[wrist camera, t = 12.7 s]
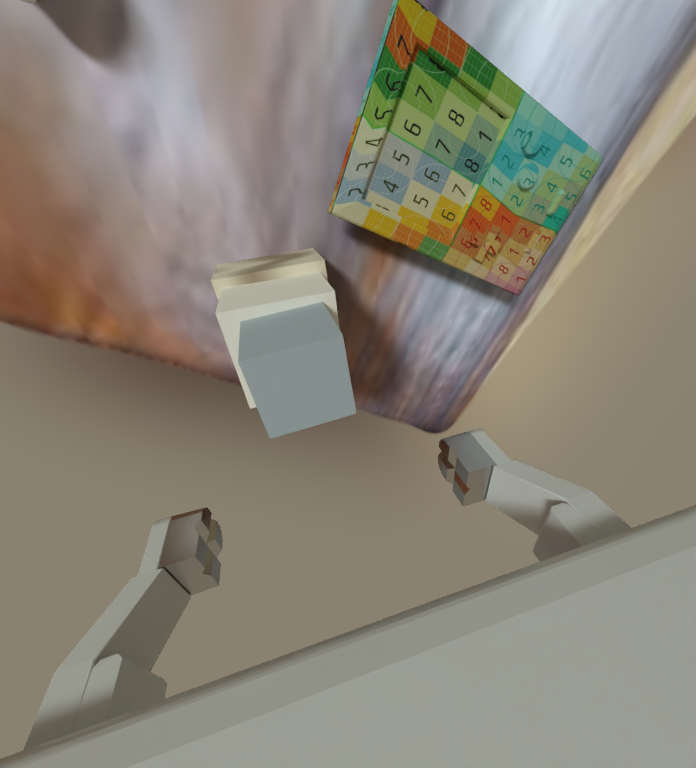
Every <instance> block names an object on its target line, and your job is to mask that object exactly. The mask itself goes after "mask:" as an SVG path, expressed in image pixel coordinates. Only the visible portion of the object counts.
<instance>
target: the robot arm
mask: <svg viewBox="0 0 696 768" xmlns="http://www.w3.org/2000/svg"><path fill="white" fill-rule="evenodd" d="M439 448H440V449H441V453H440V454H439V455H438V463H439V467H440V470H441V472H442V475H443V476H444V478H445V479H446V481H448V482H450V483H452V484H453V492H454V493H455V495H456V496H457V498H458V500H459V501H460V503H461V504H462V506H466V505H469V504H473V503H476V502H480V501H483V500H486V502H487V503H489V504H491V505H492V506H494V507H495V508H497V509H498V510H500V511H502V512H503V513H504V514H506V515H508V516H509V517H511V518H512V519H514V520H515V521H517V522H518V523H520V524H521V525H523V526H525V527H526V528H528V529H529V530H531V531H532V532H534V533H535V534H537V535H538V538H537V541H536V543H535V545H534V547H533V553H534V554H535V555H536V557H537V558H538V559H539V561H540V562H538V563H535V564H532V565H530V566H527V567H524V568H521V569H519V570H516V571H513V572H510V573H508V574H505V575H502V576H499V577H496V578H494V579H491V580H488V581H486V582H483V583H480V584H478V585H475V586H472V587H469V588H467V589H464V590H461V591H458V592H456V593H453V594H450V595H447V596H444V597H442V598H439V599H436V600H434V601H431V602H428V603H425V604H423V605H420V606H417V607H414V608H412V609H409V610H406V611H403V612H401V613H398V614H396V615H393V616H390V617H387V618H384V619H382V620H379V621H376V622H374V623H371V624H368V625H365V626H362V627H360V628H357V629H354V630H351V631H349V632H346V633H343V634H341V635H338V636H335V637H332V638H330V639H327V640H324V641H321V642H319V643H316V644H313V645H310V646H308V647H305V648H302V649H300V650H297V651H294V652H291V653H289V654H286V655H283V656H280V657H278V658H275V659H272V660H269V661H267V662H264V663H261V664H259V665H256V666H253V667H250V668H248V669H245V670H242V671H239V672H237V673H234V674H231V675H228V676H226V677H223V678H220V679H218V680H215V681H212V682H209V683H207V684H204V685H201V686H198V687H196V688H193V689H190V690H188V691H185V692H182V693H179V694H177V695H174V696H171V697H168V698H165V694H166V687H167V683H166V681H165V680H164V679H163V678H161V677H159V676H157V675H156V674H153V673H152V672H151V670H152V668H153V666H154V664H155V662H156V661H157V659H158V657H159V655H160V653H161V651H162V650H163V648H164V646H165V644H166V642H167V640H168V639H169V637H170V635H171V633H172V631H173V629H174V627H175V626H176V624H177V622H178V620H179V618H180V616H181V615H182V613H183V611H184V609H185V608H186V606H187V604H188V602H189V600H190V598H191V596H190V595H193V594H196V593H199V592H202V591H204V590H207V589H210V588H213V587H216V586H219V579H220V567H221V563H220V562H219V560H218V559H217V556H218V555H219V553H220V552H221V550H222V533H221V529H220V526H219V524H218V522H217V521H215V520H213V519H211V514H212V513H211V512H210V510H209V509H208V508H202V509H199V510H195V511H191V512H187V513H184V514H179V515H176V516H172V517H168V518H165V519H162V520H158V521H156V522H155V523H154V524H153V526H152V528H151V532H150V535H149V539H148V542H147V545H146V549H145V552H144V556H143V560H142V563H141V566H140V570H139V573H138V576H135V577H133V578H131V580H130V581H129V582H128V583H127V585H126V586H125V587H124V588H123V590H122V591H121V592H120V593H119V594H118V596H117V597H116V598H115V599H114V601H113V602H112V603H111V604H110V606H109V607H108V608H107V609H106V610H105V612H104V613H103V614H102V615H101V617H100V618H99V619H98V620H97V622H96V623H95V624H94V625H93V626H92V628H91V629H90V630H89V631H88V632H87V634H86V635H85V636H84V637H83V639H82V640H81V641H80V642H79V643H78V645H77V646H76V647H75V648H74V650H73V651H72V652H71V653H70V655H69V656H68V657H67V658H66V660H65V661H64V662H63V663H62V664H61V666H60V667H59V668H58V670H57V671H56V672H55V673H54V675H53V678H52V680H51V682H50V685H49V687H48V690H47V692H46V695H45V697H44V700H43V702H42V705H41V708H40V710H39V713H38V715H37V717H36V720H35V722H34V725H33V727H32V730H31V732H30V735H29V737H28V740H27V742H26V745H25V747H24V750H23V751H21V752H18V753H15V754H12V755H10V756H7V757H4V758H2V759H0V768H696V505H694V506H691V507H688V508H685V509H683V510H680V511H677V512H675V513H672V514H669V515H666V516H663V517H661V518H658V519H655V520H653V521H650V522H647V523H644V524H642V525H639V526H636V527H633V528H631V527H630V526H629V525H628V524H626V523H625V522H624V521H623V520H622V519H621V518H620V517H619V516H618V515H617V514H616V513H615V512H613V511H612V510H611V509H610V508H609V507H608V506H607V505H606V504H605V503H603V501H601V500H600V499H599V498H598V497H597V496H596V495H595V494H594V493H593V492H591V491H589V490H587V489H584V488H582V487H579V486H577V485H575V484H572V483H570V482H568V481H565V480H563V479H561V478H558V477H556V476H554V475H551V474H549V473H547V472H544V471H542V470H540V469H537V468H535V467H532V466H530V465H528V464H525V463H523V462H521V461H518V460H516V459H514V460H511V459H510V458H509V457H508V456H507V455H506V454H505V453H504V452H503V451H502V450H501V449H500V448H499V446H498V445H497V444H496V443H495V442H494V441H493V440H492V439H491V438H490V437H489V436H488V435H487V434H486V433H485V431H483V430H482V429H480V428H479V429H475V430H472V431H468V432H464V433H460V434H457V435H454V436H451V437H447V438H444V439H441V441H440V442H439Z"/></svg>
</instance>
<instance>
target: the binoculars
mask: <svg viewBox="0 0 696 768" xmlns="http://www.w3.org/2000/svg"><path fill="white" fill-rule="evenodd" d="M22 1H24V2H27V3H32V2H36V1H38V0H22Z"/></svg>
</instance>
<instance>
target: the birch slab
mask: <svg viewBox="0 0 696 768" xmlns="http://www.w3.org/2000/svg"><path fill="white" fill-rule="evenodd" d="M314 272H320V273H321V274H322V275H323V277H324V278H325V279H326V280H327V282H328V279H327V272H326V265H325V259H324V258H323V257H322V256H321V255H320V254H319V253H318V252H317V251H316V250H315V249H314V248H311V249H305V250H300V251H294V252H288V253H283V254H277V255H271V256H266V257H260V258H254V259H248V260H243V261H237V262H231V263H226V264H220V265H217V266H216V268H215V271H214V274H213V276H212V279H211V282H212V284H213V287H214V290H215V293H216V295H217V298H218V301H219V297H220V293H221V289H223V288H228V287H234V286H240V285H246V284H251V283H257V282H263V281H268V280H274V279H280V278H285V277H291V276H297V275H302V274H308V273H314Z"/></svg>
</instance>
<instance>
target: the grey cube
mask: <svg viewBox="0 0 696 768" xmlns="http://www.w3.org/2000/svg"><path fill="white" fill-rule="evenodd" d="M238 363H239V366H240V368H241V370H242V373H243V375H244V378H245V380H246V382H247V385H248V387H249V390H250V392H251V394H252V397H253V399H254V402H255V404H256V407H257V409H258V411H259V414H260V416H261V419H262V421H263V423H264V426H265V428H266V431H267V433H268V435H269V438H274V437H278V436H281V435H284V434H288V433H291V432H295V431H298V430H301V429H305V428H308V427H311V426H315V425H318V424H322V423H325V422H328V421H332V420H336V419H339V418H342V417H346V416H349V415H353V414H356V409H355V403H354V397H353V391H352V385H351V379H350V374H349V368H348V362H347V356H346V350H345V345H344V339H343V335H342V333H341V331H340V330H339V328H338V326H337V325H336V323H335V321H334V320H333V318H332V316H331V315H330V313H329V311H328V310H327V308H326V307H325V305H324V303H323V302H320V303H315V304H311V305H307V306H303V307H299V308H295V309H290V310H286V311H282V312H278V313H274V314H270V315H265V316H261V317H257V318H253V319H249V320H244V321H240V336H239V354H238Z"/></svg>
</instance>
